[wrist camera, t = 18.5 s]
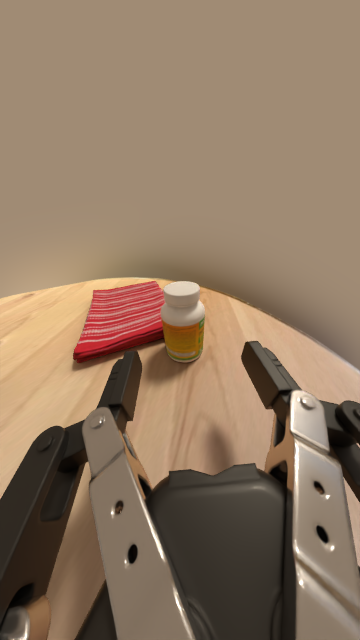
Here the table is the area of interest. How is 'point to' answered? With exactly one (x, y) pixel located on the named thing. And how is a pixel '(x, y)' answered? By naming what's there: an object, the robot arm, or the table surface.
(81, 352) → the dish towel
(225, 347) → the table surface
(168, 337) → the supplement bottle
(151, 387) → the table surface
